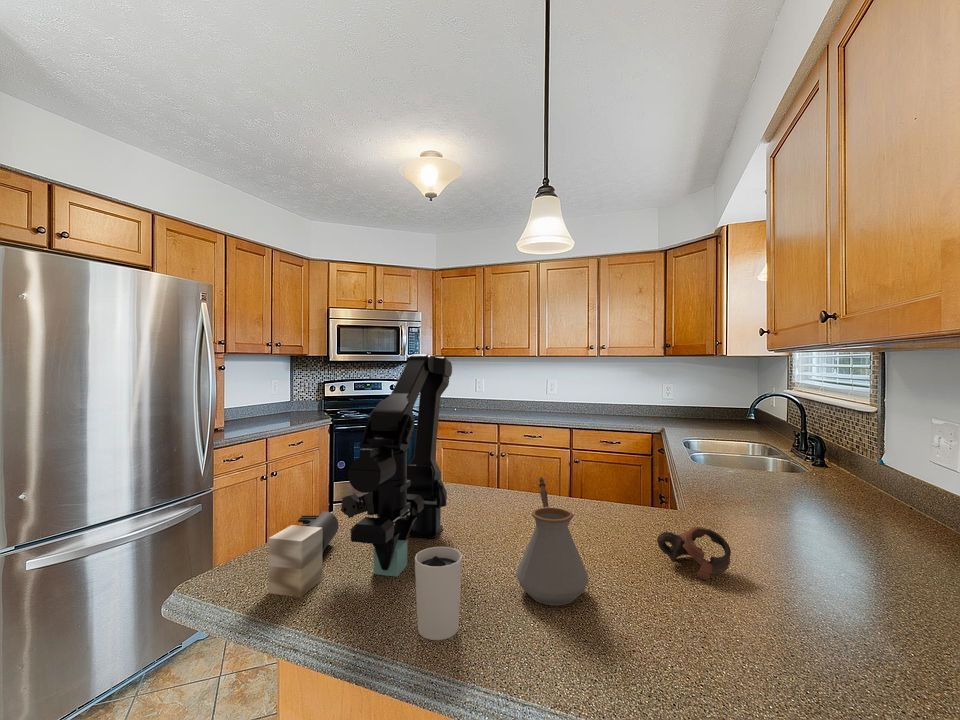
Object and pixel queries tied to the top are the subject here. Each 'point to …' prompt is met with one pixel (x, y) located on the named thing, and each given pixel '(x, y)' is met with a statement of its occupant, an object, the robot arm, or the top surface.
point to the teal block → (393, 560)
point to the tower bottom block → (294, 579)
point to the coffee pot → (552, 558)
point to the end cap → (322, 525)
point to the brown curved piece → (696, 550)
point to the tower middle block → (295, 546)
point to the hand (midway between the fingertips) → (390, 563)
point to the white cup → (438, 592)
